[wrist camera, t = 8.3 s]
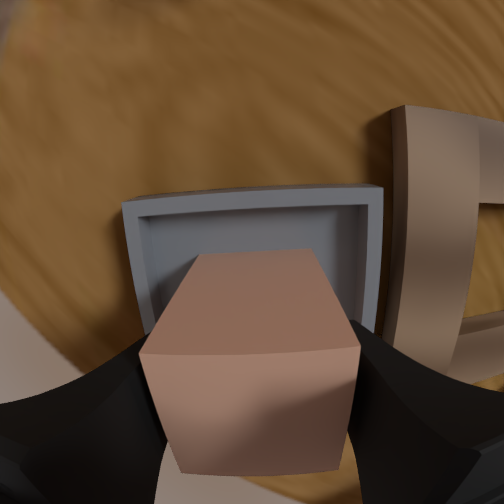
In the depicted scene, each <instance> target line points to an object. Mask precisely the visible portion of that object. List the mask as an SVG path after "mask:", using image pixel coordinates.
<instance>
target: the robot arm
mask: <svg viewBox="0 0 504 504" xmlns="http://www.w3.org/2000/svg"><path fill="white" fill-rule="evenodd" d="M349 323H350V325H351V327H352V329H353V331H354V333H355V335H356V337H357V339H358V341H359V343H360V345H361V350H360V357H359V365H358V372H357V378H356V385H355V391H354V397H353V403H352V408H351V414H350V419H349V424H348V429H347V431H348V434H349V437H350V440H351V443H352V446H353V450H354V454H355V458H356V462H357V468H358V474H359V480H360V486H361V493H362V500H363V504H504V393H503V392H498V391H493V390H489V389H484V388H481V387H477V386H474V385H470V384H467V383H465V382H462V381H459V380H456V379H453V378H451V377H448V376H446V375H443V374H441V373H439V372H437V371H435V370H432V369H430V368H428V367H426V366H424V365H422V364H420V363H419V362H417V361H415V360H413V359H412V358H410V357H408V356H407V355H405V354H403V353H402V352H400V351H398V350H397V349H395V348H394V347H392V346H391V345H389V344H388V343H386V342H385V341H384V340H382V339H381V338H379V337H378V336H377V335H375V334H374V333H372V332H371V331H370V330H368V329H367V328H366V327H364V326H363V325H361V324H360V323H358V322H357V321H355V320H349ZM151 332H152V331H151ZM151 332H150V333H151ZM150 333H148V334H147V335H145V336H144V337H142V338H141V339H140V340H138V341H137V342H135V343H134V344H133V345H131V346H130V347H128V348H127V349H126V350H124V351H123V352H121V353H120V354H118V355H117V356H115V357H114V358H112V359H111V360H109V361H107V362H106V363H104V364H103V365H101V366H99V367H98V368H96V369H95V370H93V371H91V372H89V373H87V374H86V375H84V376H82V377H80V378H78V379H76V380H74V381H72V382H69V383H67V384H65V385H62V386H60V387H58V388H55V389H53V390H49V391H47V392H44V393H42V394H39V395H35V396H32V397H29V398H25V399H21V400H17V401H13V402H8V403H2V404H0V504H154V500H155V494H156V487H157V482H158V476H159V471H160V466H161V461H162V458H163V454H164V451H165V448H166V445H167V442H168V439H167V437H166V434H165V432H164V429H163V426H162V424H161V421H160V418H159V415H158V413H157V410H156V407H155V404H154V401H153V398H152V395H151V392H150V389H149V386H148V383H147V380H146V376H145V373H144V370H143V367H142V363H141V360H140V356H139V352H140V350H141V349H142V347H143V345H144V344H145V342H146V340H147V338H148V337H149V335H150Z"/></svg>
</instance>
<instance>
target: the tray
mask: <svg viewBox="0 0 504 504" xmlns="http://www.w3.org/2000/svg"><path fill="white" fill-rule="evenodd" d="M121 204H122V212H123V219H124V227H125V234H126V240H127V247H128V253H129V259H130V265H131V270H132V276H133V281H134V286H135V291H136V296H137V301H138V306H139V310H140V315H141V319H142V323H143V328H144V332H145V335H147V334H148V333H150V332H151V331H152V330H153V328H154V327H155V325H156V323H157V322H158V320H159V318H160V317H161V315H162V313H163V312H164V310H165V309H166V307H167V305H168V304H169V302H170V300H171V299H172V297H173V295H174V294H175V292H176V291H177V289H178V287H179V286H180V284H181V283H182V281H183V279H184V278H185V276H186V275H187V273H188V271H189V270H190V268H191V267H192V265H193V263H194V262H195V260H196V259H197V257H198V256H199V254H217V253H235V252H253V251H272V250H290V249H309V248H311V249H312V251H313V252H314V254H315V256H316V258H317V260H318V262H319V264H320V266H321V268H322V269H323V271H324V273H325V275H326V277H327V279H328V281H329V283H330V285H331V287H332V289H333V291H334V293H335V295H336V297H337V299H338V301H339V302H340V304H341V306H342V308H343V310H344V312H345V314H346V316H347V318H348V320H355V321H357V322H358V323H360V324H361V325H363V326H364V327H366V328H367V329H368V330H370V331H371V332H372V333H374V327H375V319H376V311H377V301H378V291H379V280H380V268H381V253H382V232H383V187H379V186H375V185H371V184H305V185H278V186H258V187H240V188H225V189H212V190H199V191H187V192H176V193H166V194H156V195H147V196H138V197H135V198H132V199H130V200H127V201H124V202H121Z"/></svg>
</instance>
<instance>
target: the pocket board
mask: <svg viewBox="0 0 504 504" xmlns="http://www.w3.org/2000/svg"><path fill="white" fill-rule="evenodd" d="M390 112H391V126H392V145H393V228H392V247H391V262H390V274H389V284H388V294H387V303H386V311H385V319H384V326H383V333H382V340H384V341H385V342H386V343H388V344H389V345H391V346H392V347H394V348H395V349H397V350H398V351H400V352H402V353H403V354H405V355H407V356H408V357H410V358H412V359H413V360H415V361H417V362H419V363H420V364H422V365H424V366H426V367H428V368H430V369H432V370H435V371H437V372H439V373H441V374H443V375H446V376H448V377H451V378H453V379H456V380H459V381H462V382H465V383H467V384H472V383H475V382H479V381H482V380H485V379H488V378H491V377H494V376H496V375H499V374H502V373H504V310H503V311H498V312H494V313H489V314H484V315H479V316H474V317H469V318H464V319H462V317H463V313H464V309H465V304H466V299H467V294H468V289H469V283H470V278H471V271H472V265H473V258H474V250H475V242H476V233H477V222H478V208H479V203H502V204H504V122H500V121H496V120H492V119H487V118H483V117H478V116H473V115H468V114H463V113H458V112H452V111H446V110H440V109H433V108H427V107H419V106H411V105H403V106H400V107H397V108H394V109H391V110H390Z"/></svg>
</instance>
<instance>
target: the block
mask: <svg viewBox="0 0 504 504" xmlns="http://www.w3.org/2000/svg"><path fill="white" fill-rule="evenodd" d="M360 350H361V345H360V343H359V341H358V339H357V337H356V335H355V333H354V331H353V329H352V327H351V325H350V323H349V320H348V318H347V316H346V314H345V312H344V310H343V308H342V306H341V304H340V302H339V301H338V299H337V297H336V295H335V293H334V291H333V289H332V287H331V285H330V283H329V281H328V279H327V277H326V275H325V273H324V271H323V269H322V268H321V266H320V264H319V262H318V260H317V258H316V256H315V254H314V252H313V251H312V249H311V248H309V249H290V250H272V251H253V252H235V253H217V254H199V256H198V257H197V259H196V260H195V262H194V263H193V265H192V267H191V268H190V270H189V271H188V273H187V275H186V276H185V278H184V279H183V281H182V283H181V284H180V286H179V287H178V289H177V291H176V292H175V294H174V295H173V297H172V299H171V300H170V302H169V304H168V305H167V307H166V309H165V310H164V312H163V313H162V315H161V317H160V318H159V320H158V322H157V323H156V325H155V327H154V328H153V330H152V332H151V333H150V335H149V337H148V338H147V340H146V342H145V344H144V345H143V347H142V349H141V350H140V352H139V356H140V360H141V363H142V367H143V370H144V373H145V376H146V380H147V383H148V386H149V389H150V392H151V395H152V398H153V401H154V404H155V407H156V410H157V413H158V415H159V418H160V421H161V424H162V426H163V429H164V432H165V434H166V437H167V439H168V442H169V444H170V447H171V449H172V452H173V454H174V456H175V459H176V461H177V464H178V466H179V468H180V471H181V473H188V474H200V475H217V476H277V475H294V474H306V473H316V472H325V471H333V470H338V469H339V465H340V461H341V457H342V452H343V448H344V443H345V439H346V434H347V429H348V424H349V419H350V414H351V408H352V403H353V397H354V391H355V385H356V378H357V372H358V365H359V357H360Z"/></svg>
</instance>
